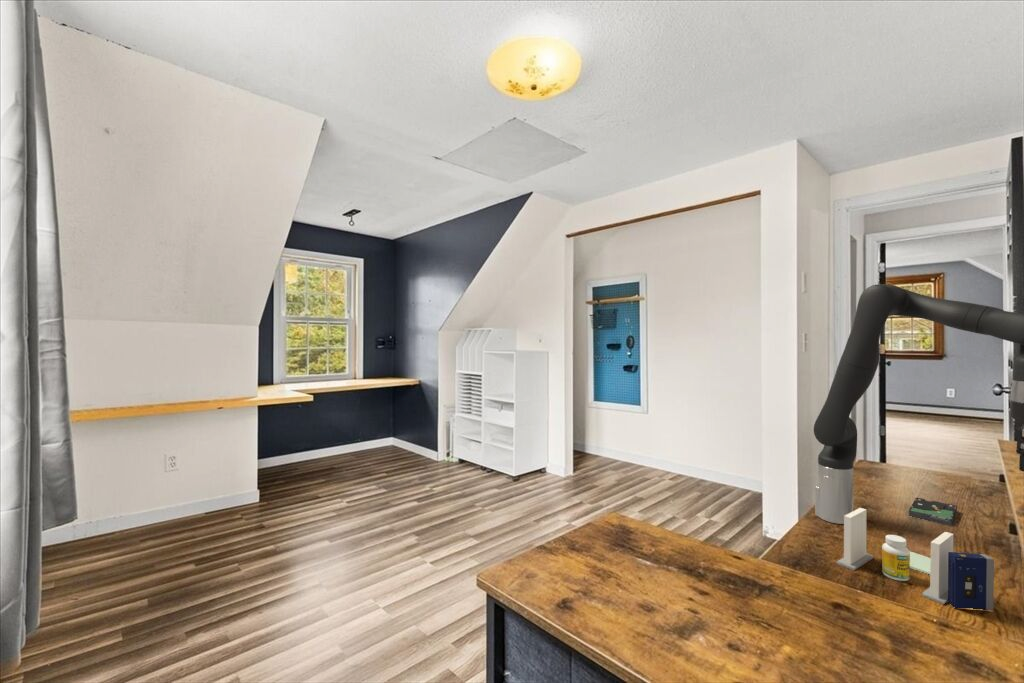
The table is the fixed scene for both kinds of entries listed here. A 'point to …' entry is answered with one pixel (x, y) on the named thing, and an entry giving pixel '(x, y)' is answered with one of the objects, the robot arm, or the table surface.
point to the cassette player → (970, 580)
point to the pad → (920, 562)
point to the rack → (858, 556)
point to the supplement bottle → (896, 558)
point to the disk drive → (933, 511)
